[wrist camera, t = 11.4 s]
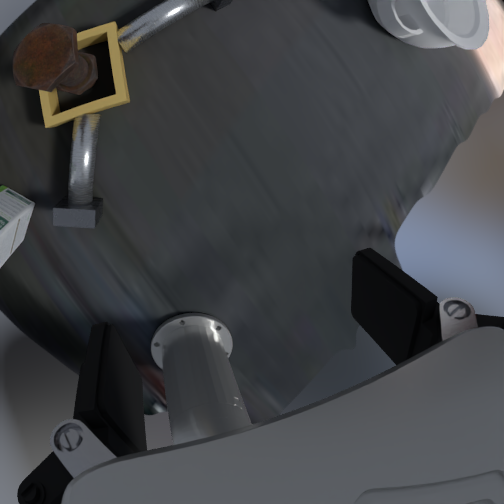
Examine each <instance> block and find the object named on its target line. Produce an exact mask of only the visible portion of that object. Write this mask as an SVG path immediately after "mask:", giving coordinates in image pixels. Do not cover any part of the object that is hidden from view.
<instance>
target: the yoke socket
mask: <svg viewBox="0 0 504 504" xmlns="http://www.w3.org/2000/svg"><path fill="white" fill-rule="evenodd" d="M118 30H119V29H118V27H117V24H116V22H111V23H108V24H104V25H101V26H98V27H95V28H92V29H89V30H86V31H83V32H80V33H77V44H78V50H79V49H82V48H85V47H88V46H91V45H94V44H97V43H101V42H104V41H107V40H108V44H109V52H110V59H111V65H112V72H113V78H114V84H115V90H116V94H115V95H112V96H108V97H105V98H102V99H99V100H96V101H93V102H90V103H87V104H84V105H81V106H78V107H75V108H72V109H70V110H67V111H64V112H62V113H60V107H59V101H58V96H57V89H56V88H55V89H54V90H53V91H52V92H47V91H42V90H39V94H40V100H41V106H42V112H43V117H44V122H45V127H46V128H51V127H56V126H59V125H62V124H64V123H67V122H70V121H72V120H74V118H75V117H77V116H79V115H82V114H93V113H96V112H99V111H102V110H105V109H108V108H112V107H115V106H118V105H122V104H125V103H129V102H130V99H129V93H128V88H127V82H126V76H125V69H124V63H123V56H122V50H121V46H120V44H119V42H118V40H117V31H118Z"/></svg>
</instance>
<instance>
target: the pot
mask: <svg viewBox="0 0 504 504" xmlns="http://www.w3.org/2000/svg"><path fill="white" fill-rule="evenodd" d="M368 3H369V5H370V8H371V11H372V13H373V15H374V17H375V19H376V21H377V22H378V23H379V24H380V25H381V26H382V27H383V28H384V29H386V30H387V31H388V32H389V33H390V34H392V35H393V36H395V37H396V38H398V39H399V40H401V41H403V42H404V43H407V44H410V45H413V46H417V47H421V48H444V47H449V46H454V45H456V46H458V47H460V48H463V49H478V48H479V47H481V46H482V45H483V44H484V42H485V41H486V39H487V36H488V32H489V14H488V10H487V5H486V1H485V0H368Z"/></svg>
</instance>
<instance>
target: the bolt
mask: <svg viewBox="0 0 504 504" xmlns="http://www.w3.org/2000/svg"><path fill="white" fill-rule="evenodd" d="M13 74H14V79H15V83H16V85H17V86H22V87H27V88H33V89H37V90H42V91H47V92H52V91H53V90H54V89H55V88H56V87H57V90H61V91H65V92H69V93H73V94H78V95H81V94H82V93H83V92H84V91H85V90H87V89H90V88H91V87H92V86H93V85H94V84H95V83H96V82H95V81H97V79H98V72H97V63H96V57H95V56H94V55H91V54H88V53H84V52H79V51H78V44H77V31H76V30H75V29H74V28H71V27H68V26H64V25H59V24H50V23H42V24H40V25H39V26H37V27H36V28H34V29H33V30H32V31H31V32H30V33H28V34H27V35H26V37H25V38H24V39H23V40H22V41H21V42H20V43H19V45H18V46H17V48H16V49H15V51H14V55H13Z"/></svg>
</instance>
